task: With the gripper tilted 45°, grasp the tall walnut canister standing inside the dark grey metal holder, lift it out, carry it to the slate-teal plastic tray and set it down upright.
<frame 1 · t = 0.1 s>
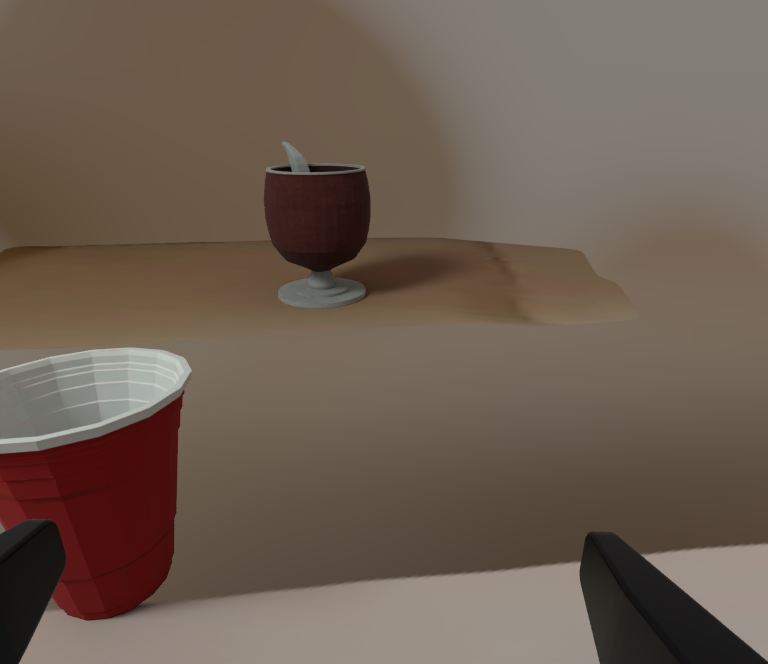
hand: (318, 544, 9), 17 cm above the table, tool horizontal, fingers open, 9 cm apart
mate gourd: (319, 293, 75), on the table
plastic cup: (118, 574, 29), on the table
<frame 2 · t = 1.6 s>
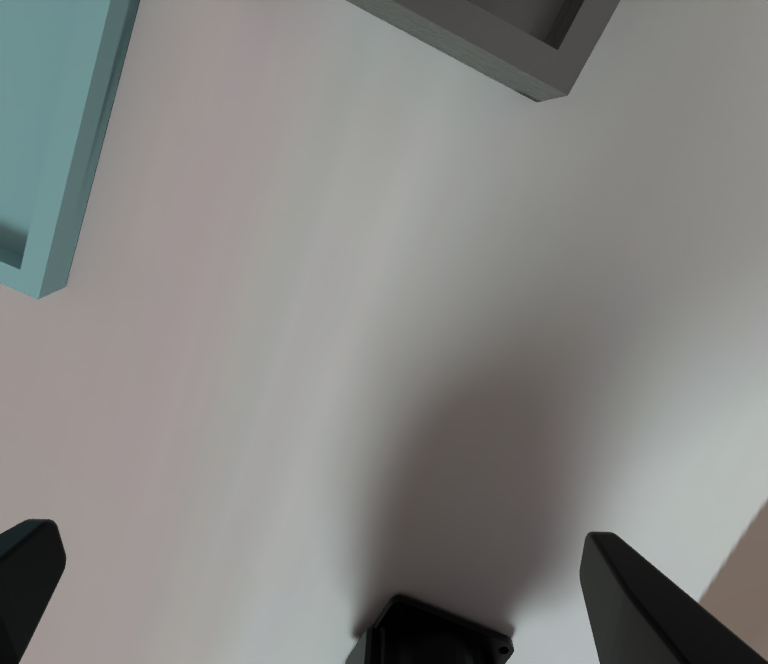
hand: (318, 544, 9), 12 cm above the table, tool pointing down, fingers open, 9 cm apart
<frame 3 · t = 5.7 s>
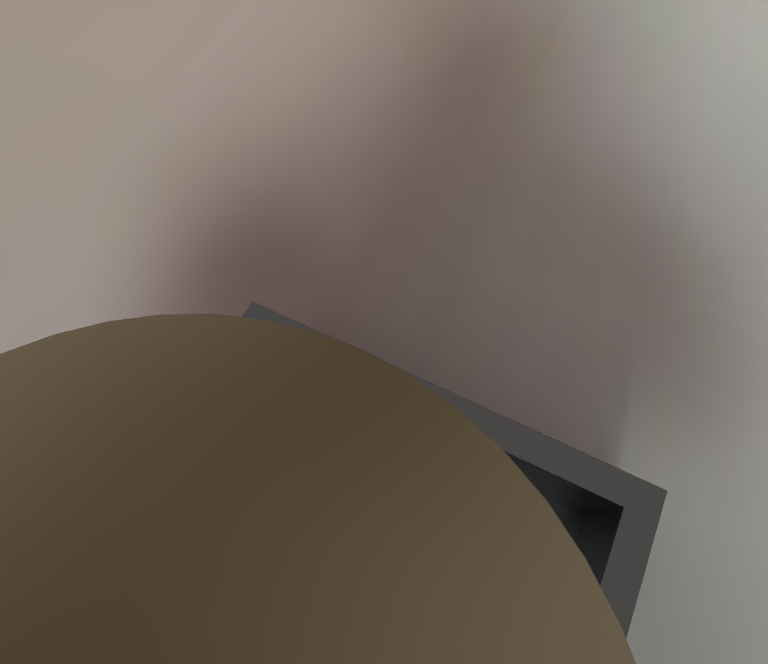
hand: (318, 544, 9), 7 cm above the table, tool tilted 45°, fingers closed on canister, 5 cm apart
holder: (350, 602, 15), on the table
canister: (348, 604, 14), resting on holder, touching gripper
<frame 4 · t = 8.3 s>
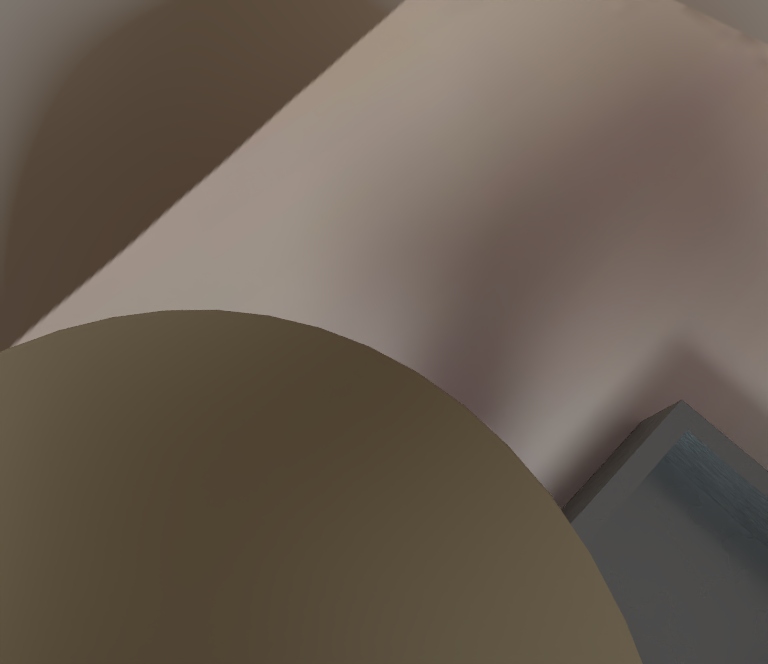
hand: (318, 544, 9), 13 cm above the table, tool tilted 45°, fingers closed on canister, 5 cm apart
holder: (674, 636, 20), on the table
canister: (349, 603, 14), point 7 cm above the table, touching gripper
when the fingers open (9 cm above the table, at t = 10.8 s): canister drops 1 cm, resting on tray.
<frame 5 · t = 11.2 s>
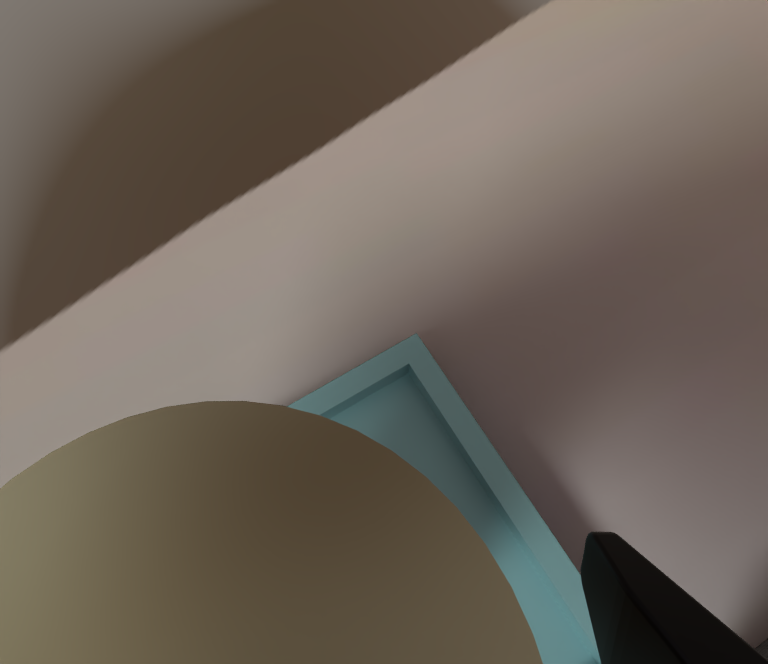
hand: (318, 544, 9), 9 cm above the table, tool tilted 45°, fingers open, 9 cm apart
tray: (353, 598, 16), on the table
canister: (352, 602, 16), point 1 cm above the table, touching tray
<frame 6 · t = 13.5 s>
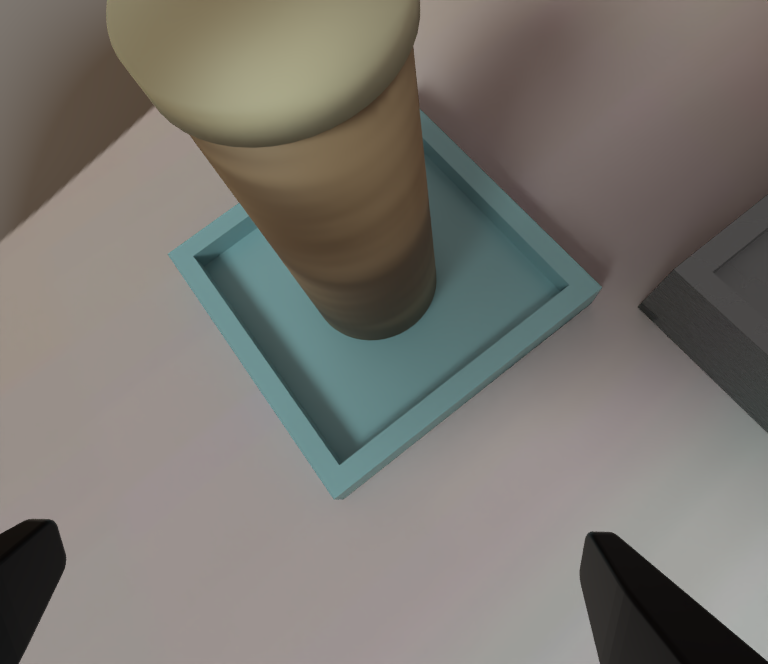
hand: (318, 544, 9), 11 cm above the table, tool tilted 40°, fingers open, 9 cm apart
tray: (376, 285, 22), on the table
canister: (373, 280, 21), point 1 cm above the table, touching tray
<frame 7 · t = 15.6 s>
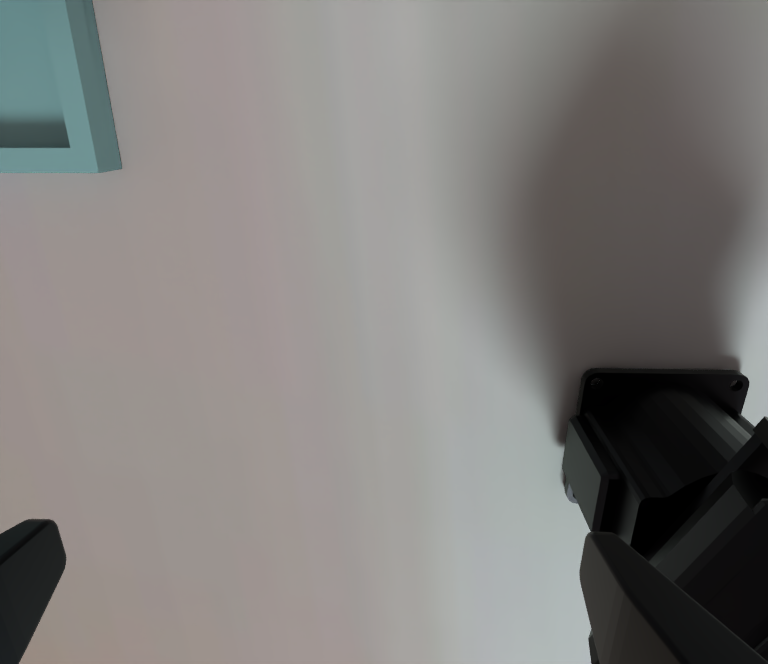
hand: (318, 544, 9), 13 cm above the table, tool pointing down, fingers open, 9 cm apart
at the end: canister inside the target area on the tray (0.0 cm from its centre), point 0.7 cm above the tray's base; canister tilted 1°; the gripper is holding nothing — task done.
